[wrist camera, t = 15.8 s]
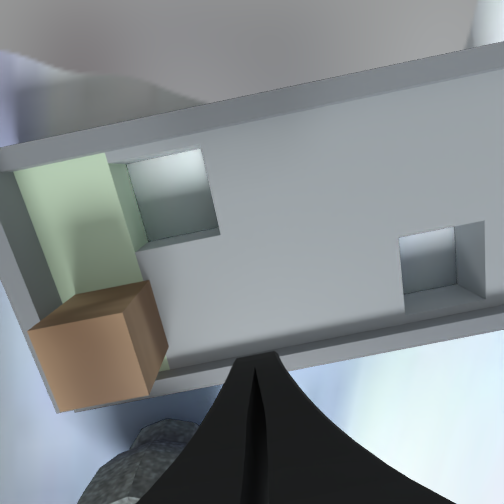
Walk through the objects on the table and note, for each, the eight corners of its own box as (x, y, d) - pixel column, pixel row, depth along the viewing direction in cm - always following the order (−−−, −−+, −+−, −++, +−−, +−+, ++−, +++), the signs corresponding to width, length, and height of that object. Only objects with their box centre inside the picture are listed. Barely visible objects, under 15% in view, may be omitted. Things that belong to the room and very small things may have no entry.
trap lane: (475, 60, 17) (555, 24, 13) (481, 301, 21) (545, 336, 16) (19, 156, 18) (-53, 152, 13) (100, 375, 21) (63, 429, 17)
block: (149, 279, 17) (122, 312, 13) (168, 346, 18) (148, 395, 14) (75, 294, 17) (26, 331, 13) (98, 360, 18) (60, 411, 14)
